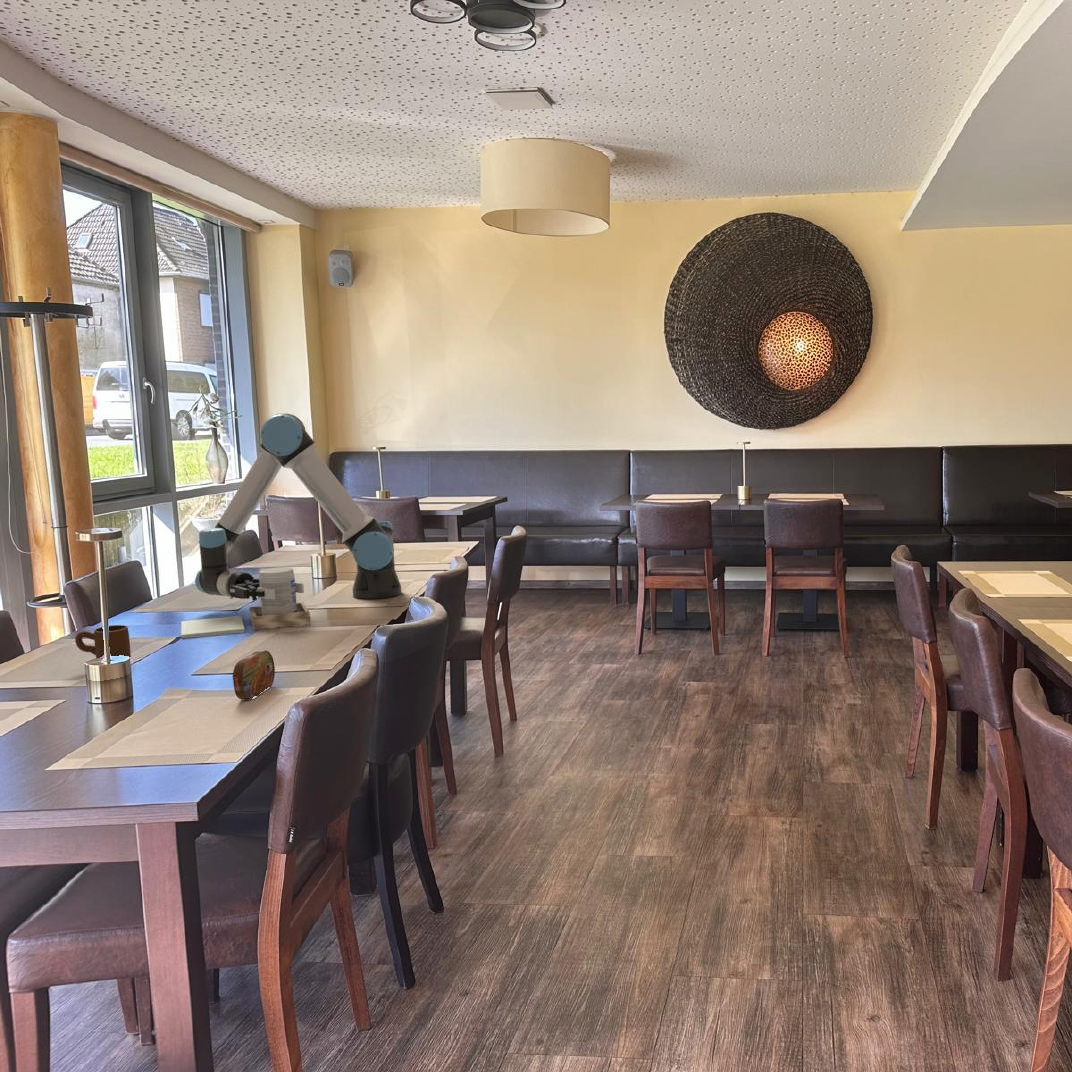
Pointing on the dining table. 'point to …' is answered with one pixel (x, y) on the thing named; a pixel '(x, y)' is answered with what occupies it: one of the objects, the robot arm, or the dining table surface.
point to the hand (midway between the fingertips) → (288, 591)
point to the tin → (253, 674)
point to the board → (211, 627)
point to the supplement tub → (278, 591)
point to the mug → (117, 641)
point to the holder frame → (279, 618)
